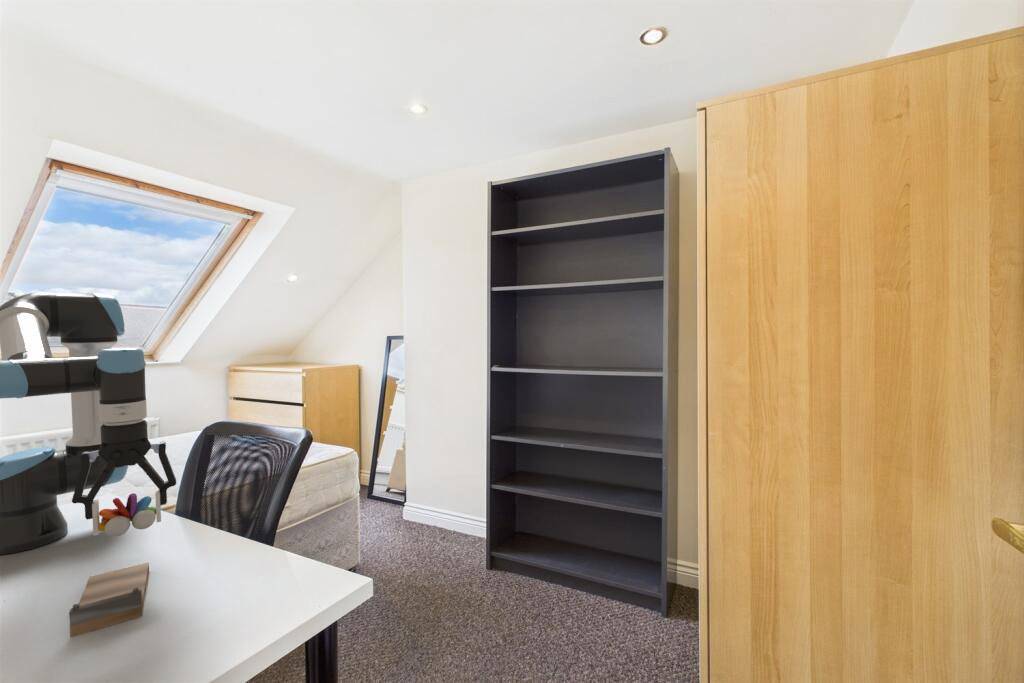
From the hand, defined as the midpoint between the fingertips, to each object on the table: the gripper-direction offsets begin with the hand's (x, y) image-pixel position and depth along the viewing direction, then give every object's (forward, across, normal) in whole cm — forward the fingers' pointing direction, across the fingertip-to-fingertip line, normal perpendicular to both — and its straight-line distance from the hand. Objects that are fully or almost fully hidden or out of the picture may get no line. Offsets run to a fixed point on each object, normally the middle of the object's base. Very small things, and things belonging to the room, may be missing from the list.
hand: (128, 526), depth 98 cm
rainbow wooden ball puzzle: (+1, 0, 0) cm, 1 cm away
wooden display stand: (+13, -2, -5) cm, 14 cm away
